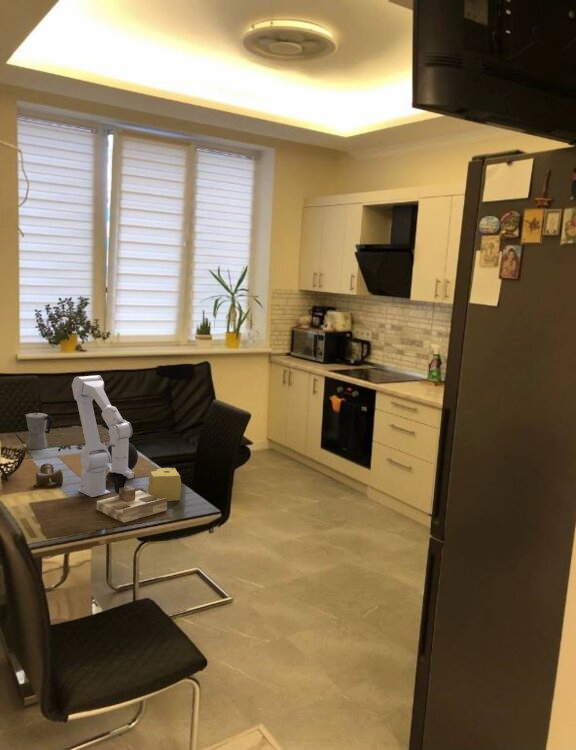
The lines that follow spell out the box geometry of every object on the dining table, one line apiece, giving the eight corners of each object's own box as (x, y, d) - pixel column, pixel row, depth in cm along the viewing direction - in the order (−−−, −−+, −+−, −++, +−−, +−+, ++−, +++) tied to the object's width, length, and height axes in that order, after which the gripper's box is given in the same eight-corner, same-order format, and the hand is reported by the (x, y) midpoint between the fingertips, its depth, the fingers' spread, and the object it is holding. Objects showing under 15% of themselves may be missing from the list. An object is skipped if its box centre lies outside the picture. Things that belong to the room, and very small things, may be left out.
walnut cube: (118, 499, 221) (119, 488, 221) (128, 496, 224) (128, 485, 224) (125, 502, 219) (125, 491, 218) (135, 499, 222) (135, 488, 221)
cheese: (147, 493, 238) (148, 468, 236) (175, 491, 241) (176, 466, 240) (151, 503, 228) (152, 476, 226) (180, 501, 232) (181, 475, 230)
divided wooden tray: (96, 509, 218) (96, 497, 218) (139, 498, 232) (139, 486, 231) (123, 522, 208) (123, 509, 207) (166, 510, 222) (167, 498, 221)
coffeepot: (18, 447, 288) (18, 408, 285) (32, 442, 296) (32, 405, 294) (45, 452, 283) (45, 413, 280) (59, 447, 291) (59, 409, 289)
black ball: (96, 478, 251) (97, 441, 249) (118, 470, 263) (119, 435, 261) (123, 484, 246) (123, 447, 244) (144, 475, 258) (145, 440, 256)
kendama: (59, 474, 255) (64, 489, 237) (34, 477, 251) (37, 492, 233) (59, 460, 254) (64, 473, 236) (33, 462, 250) (36, 476, 232)
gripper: (98, 453, 224) (97, 490, 226) (122, 462, 215) (121, 500, 217) (115, 450, 229) (114, 486, 231) (139, 459, 220) (138, 496, 222)
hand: (119, 492), depth 224 cm, fingers closed
